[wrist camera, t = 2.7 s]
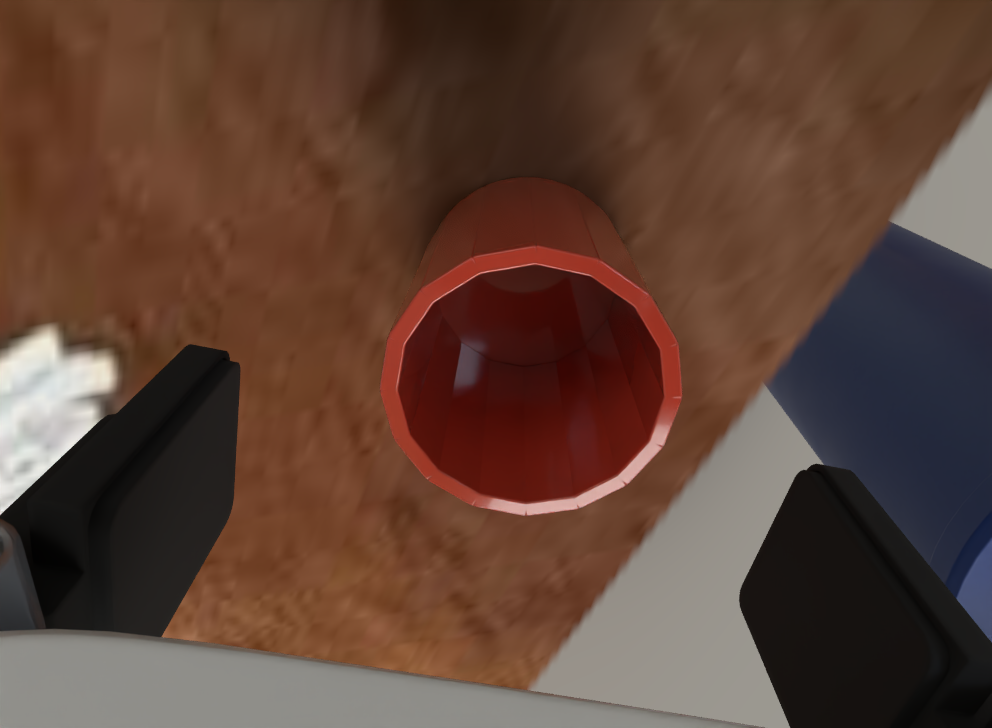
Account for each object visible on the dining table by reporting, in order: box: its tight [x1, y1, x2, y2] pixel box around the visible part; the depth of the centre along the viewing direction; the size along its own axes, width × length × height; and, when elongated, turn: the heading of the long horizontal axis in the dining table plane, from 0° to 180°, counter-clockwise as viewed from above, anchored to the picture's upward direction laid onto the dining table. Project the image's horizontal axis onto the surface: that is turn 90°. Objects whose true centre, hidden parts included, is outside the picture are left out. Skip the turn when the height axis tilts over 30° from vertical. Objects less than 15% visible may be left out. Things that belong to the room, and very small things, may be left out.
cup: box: [380, 177, 683, 516], centre depth 18 cm, size 6×6×8 cm
